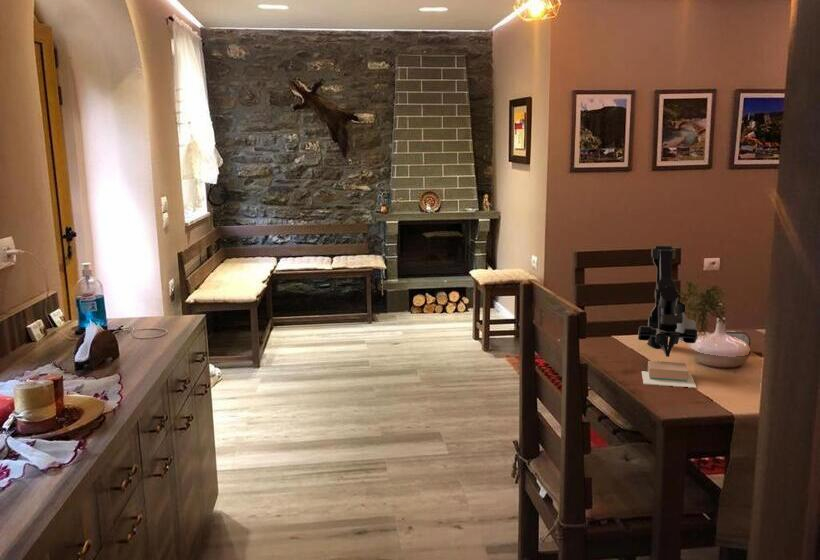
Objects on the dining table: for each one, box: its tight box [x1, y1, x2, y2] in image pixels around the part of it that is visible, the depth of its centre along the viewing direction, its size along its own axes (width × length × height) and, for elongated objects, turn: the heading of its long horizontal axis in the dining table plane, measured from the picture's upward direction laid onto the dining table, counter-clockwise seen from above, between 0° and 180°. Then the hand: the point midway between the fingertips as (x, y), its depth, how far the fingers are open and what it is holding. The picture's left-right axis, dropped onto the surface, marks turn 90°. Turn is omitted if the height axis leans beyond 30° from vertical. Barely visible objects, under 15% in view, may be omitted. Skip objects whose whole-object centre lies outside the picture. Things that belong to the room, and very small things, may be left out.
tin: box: [711, 329, 752, 347], centre depth 252 cm, size 15×3×8 cm, turn 84°
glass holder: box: [675, 300, 697, 342], centre depth 272 cm, size 9×14×15 cm, turn 177°
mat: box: [641, 370, 697, 389], centre depth 221 cm, size 13×16×1 cm
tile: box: [647, 360, 689, 381], centre depth 224 cm, size 4×12×9 cm
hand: (667, 356), depth 225 cm, fingers closed
